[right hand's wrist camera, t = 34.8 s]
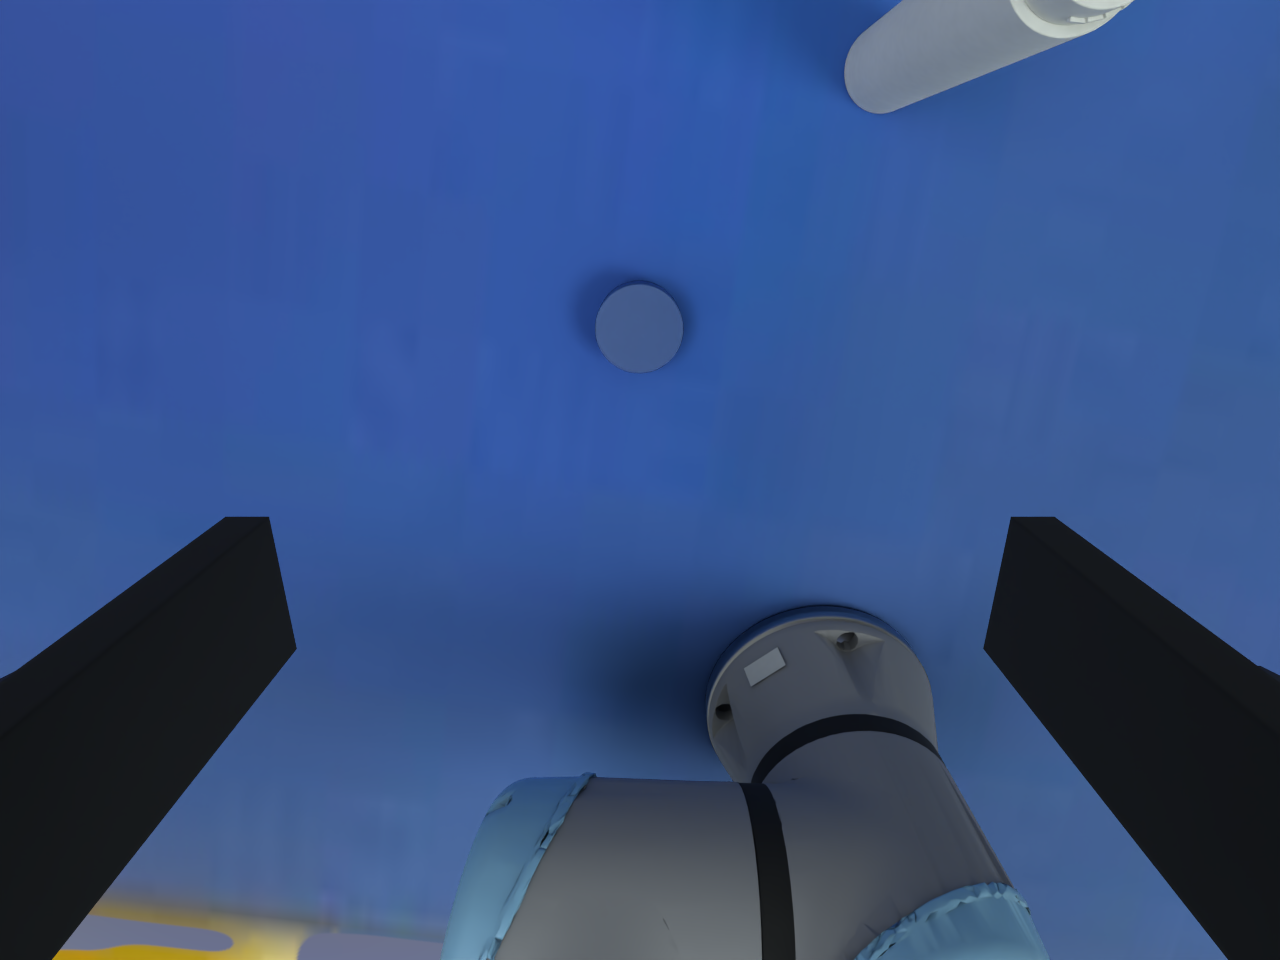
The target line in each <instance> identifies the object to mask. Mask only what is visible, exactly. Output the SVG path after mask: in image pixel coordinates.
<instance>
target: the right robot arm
mask: <svg viewBox="0 0 1280 960" xmlns="http://www.w3.org/2000/svg"><path fill="white" fill-rule="evenodd" d="M296 649H297V648H296V644H295V639H294V634H293V629H292V625H291V620H290V615H289V610H288V605H287V601H286V596H285V591H284V586H283V582H282V577H281V572H280V567H279V563H278V558H277V553H276V548H275V543H274V539H273V534H272V529H271V524H270V520H269V517H225V518H223V519H222V520H221V521H219V522H218V523H217V524H215V525H214V526H212V527H211V528H210V529H208V530H207V531H206V532H204V533H203V534H202V535H200V536H199V537H197V538H196V539H195V540H193V541H192V542H191V543H189V544H188V545H187V546H185V547H184V548H183V549H181V550H180V551H178V552H177V553H176V554H174V555H173V556H172V557H170V558H169V559H168V560H166V561H165V562H163V563H162V564H161V565H159V566H158V567H157V568H155V569H154V570H153V571H151V572H150V573H148V574H147V575H146V576H144V577H143V578H142V579H140V580H139V581H138V582H136V583H135V584H134V585H132V586H131V587H129V588H128V589H127V590H125V591H124V592H123V593H121V594H120V595H119V596H117V597H116V598H114V599H113V600H112V601H110V602H109V603H108V604H106V605H105V606H104V607H102V608H101V609H99V610H98V611H97V612H95V613H94V614H93V615H91V616H90V617H89V618H87V619H86V620H84V621H83V622H82V623H80V624H79V625H78V626H76V627H75V628H74V629H72V630H71V631H70V632H68V633H67V634H65V635H64V636H63V637H61V638H60V639H59V640H57V641H56V642H55V643H53V644H52V645H50V646H49V647H48V648H46V649H45V650H44V651H42V652H41V653H40V654H38V655H37V656H35V657H34V658H33V659H31V660H30V661H29V662H27V663H26V664H25V665H23V666H22V667H21V668H19V669H18V670H16V671H15V672H13V673H11V674H9V675H7V676H5V677H3V678H1V679H0V960H52V959H53V958H54V956H55V955H56V954H57V952H58V951H59V950H60V949H61V947H62V946H63V945H64V944H65V942H66V941H67V940H68V939H69V937H70V936H71V935H72V933H73V932H74V931H75V930H76V928H77V927H78V926H79V925H80V923H81V922H82V921H83V919H84V918H85V917H86V916H87V914H88V913H89V912H90V911H91V909H92V908H93V907H94V905H95V904H96V903H97V902H98V900H99V899H100V898H101V897H102V895H103V894H104V893H105V892H106V890H107V889H108V888H109V886H110V885H111V884H112V883H113V881H114V880H115V879H116V878H117V876H118V875H119V874H120V872H121V871H122V870H123V869H124V867H125V866H126V865H127V864H128V862H129V861H130V860H131V858H132V857H133V856H134V855H135V853H136V852H137V851H138V850H139V848H140V847H141V846H142V844H143V843H144V842H145V841H146V839H147V838H148V837H149V836H150V834H151V833H152V832H153V831H154V829H155V828H156V827H157V825H158V824H159V823H160V822H161V820H162V819H163V818H164V817H165V815H166V814H167V813H168V811H169V810H170V809H171V808H172V806H173V805H174V804H175V803H176V801H177V800H178V799H179V797H180V796H181V795H182V794H183V792H184V791H185V790H186V789H187V787H188V786H189V785H190V784H191V782H192V781H193V780H194V778H195V777H196V776H197V775H198V773H199V772H200V771H201V770H202V768H203V767H204V766H205V764H206V763H207V762H208V761H209V759H210V758H211V757H212V756H213V754H214V753H215V752H216V750H217V749H218V748H219V747H220V745H221V744H222V743H223V742H224V740H225V739H226V738H227V737H228V735H229V734H230V733H231V731H232V730H233V729H234V728H235V726H236V725H237V724H238V723H239V721H240V720H241V719H242V717H243V716H244V715H245V714H246V712H247V711H248V710H249V709H250V707H251V706H252V705H253V703H254V702H255V701H256V700H257V698H258V697H259V696H260V695H261V693H262V692H263V691H264V690H265V688H266V687H267V686H268V684H269V683H270V682H271V681H272V679H273V678H274V677H275V676H276V674H277V673H278V672H279V670H280V669H281V668H282V667H283V665H284V664H285V663H286V662H287V660H288V659H289V658H290V656H291V655H292V654H293V653H294V651H295V650H296ZM983 649H984V650H985V651H986V653H987V654H988V655H989V656H990V658H991V659H992V660H993V662H994V663H995V664H996V665H997V667H998V668H999V669H1000V670H1001V672H1002V673H1003V674H1004V676H1005V677H1006V678H1007V679H1008V681H1009V682H1010V683H1011V684H1012V686H1013V687H1014V688H1015V690H1016V691H1017V692H1018V693H1019V695H1020V696H1021V697H1022V698H1023V700H1024V701H1025V702H1026V703H1027V705H1028V706H1029V707H1030V709H1031V710H1032V711H1033V712H1034V714H1035V715H1036V716H1037V717H1038V719H1039V720H1040V721H1041V723H1042V724H1043V725H1044V726H1045V728H1046V729H1047V730H1048V731H1049V733H1050V734H1051V735H1052V737H1053V738H1054V739H1055V740H1056V742H1057V743H1058V744H1059V745H1060V747H1061V748H1062V749H1063V750H1064V752H1065V753H1066V754H1067V756H1068V757H1069V758H1070V759H1071V761H1072V762H1073V763H1074V764H1075V766H1076V767H1077V768H1078V770H1079V771H1080V772H1081V773H1082V775H1083V776H1084V777H1085V778H1086V780H1087V781H1088V782H1089V784H1090V785H1091V786H1092V787H1093V789H1094V790H1095V791H1096V792H1097V794H1098V795H1099V796H1100V797H1101V799H1102V800H1103V801H1104V803H1105V804H1106V805H1107V806H1108V808H1109V809H1110V810H1111V811H1112V813H1113V814H1114V815H1115V817H1116V818H1117V819H1118V820H1119V822H1120V823H1121V824H1122V825H1123V827H1124V828H1125V829H1126V831H1127V832H1128V833H1129V834H1130V836H1131V837H1132V838H1133V839H1134V841H1135V842H1136V843H1137V844H1138V846H1139V847H1140V848H1141V850H1142V851H1143V852H1144V853H1145V855H1146V856H1147V857H1148V858H1149V860H1150V861H1151V862H1152V864H1153V865H1154V866H1155V867H1156V869H1157V870H1158V871H1159V872H1160V874H1161V875H1162V876H1163V878H1164V879H1165V880H1166V881H1167V883H1168V884H1169V885H1170V886H1171V888H1172V889H1173V890H1174V892H1175V893H1176V894H1177V895H1178V897H1179V898H1180V899H1181V900H1182V902H1183V903H1184V904H1185V905H1186V907H1187V908H1188V909H1189V911H1190V912H1191V913H1192V914H1193V916H1194V917H1195V918H1196V919H1197V921H1198V922H1199V923H1200V925H1201V926H1202V927H1203V928H1204V930H1205V931H1206V932H1207V933H1208V935H1209V936H1210V937H1211V939H1212V940H1213V941H1214V942H1215V944H1216V945H1217V946H1218V947H1219V949H1220V950H1221V951H1222V952H1223V954H1224V955H1225V956H1226V958H1227V959H1228V960H1280V675H1278V674H1276V673H1274V672H1272V671H1270V670H1267V669H1265V668H1263V667H1261V666H1257V665H1255V664H1254V663H1253V662H1251V661H1250V660H1249V659H1247V658H1246V657H1245V656H1243V655H1242V654H1240V653H1239V652H1238V651H1236V650H1235V649H1234V648H1232V647H1231V646H1230V645H1228V644H1227V643H1225V642H1224V641H1223V640H1221V639H1220V638H1219V637H1217V636H1216V635H1215V634H1213V633H1212V632H1210V631H1209V630H1208V629H1206V628H1205V627H1204V626H1202V625H1201V624H1200V623H1198V622H1197V621H1196V620H1194V619H1193V618H1191V617H1190V616H1189V615H1187V614H1186V613H1185V612H1183V611H1182V610H1181V609H1179V608H1178V607H1176V606H1175V605H1174V604H1172V603H1171V602H1170V601H1168V600H1167V599H1166V598H1164V597H1163V596H1161V595H1160V594H1159V593H1157V592H1156V591H1155V590H1153V589H1152V588H1151V587H1149V586H1148V585H1146V584H1145V583H1144V582H1142V581H1141V580H1140V579H1138V578H1137V577H1136V576H1134V575H1133V574H1132V573H1130V572H1129V571H1127V570H1126V569H1125V568H1123V567H1122V566H1121V565H1119V564H1118V563H1117V562H1115V561H1114V560H1112V559H1111V558H1110V557H1108V556H1107V555H1106V554H1104V553H1103V552H1102V551H1100V550H1099V549H1097V548H1096V547H1095V546H1093V545H1092V544H1091V543H1089V542H1088V541H1087V540H1085V539H1084V538H1083V537H1081V536H1080V535H1078V534H1077V533H1076V532H1074V531H1073V530H1072V529H1070V528H1069V527H1068V526H1066V525H1065V524H1063V523H1062V522H1061V521H1059V520H1058V519H1057V518H1055V517H1011V520H1010V524H1009V529H1008V534H1007V539H1006V543H1005V548H1004V553H1003V558H1002V563H1001V567H1000V572H999V577H998V582H997V586H996V591H995V596H994V601H993V605H992V610H991V615H990V620H989V625H988V629H987V634H986V639H985V644H984V648H983ZM705 707H706V717H707V725H708V731H709V736H710V739H711V743H712V745H713V748H714V750H715V752H716V754H717V756H718V757H719V759H720V761H721V763H722V764H723V766H724V767H725V769H726V771H727V772H728V774H729V775H730V777H731V778H732V780H733V782H712V781H679V780H654V779H629V778H604V777H596V774H595V773H590V772H588V773H584V774H582V775H581V776H580V777H544V778H526V779H522V780H519V781H517V782H514V783H513V784H511V785H510V786H508V787H507V788H506V789H505V790H503V791H502V792H501V793H500V794H499V795H498V797H497V798H496V799H495V801H494V802H493V803H492V805H491V807H490V808H489V810H488V812H487V814H486V816H485V818H484V820H483V821H482V823H481V826H480V828H479V830H478V832H477V835H476V837H475V840H474V842H473V845H472V847H471V850H470V853H469V855H468V858H467V861H466V864H465V867H464V870H463V873H462V876H461V879H460V883H459V886H458V889H457V893H456V896H455V900H454V903H453V907H452V911H451V914H450V918H449V922H448V926H447V931H446V935H445V939H444V943H443V948H442V952H441V957H440V960H1050V958H1049V956H1048V954H1047V952H1046V949H1045V947H1044V945H1043V943H1042V941H1041V939H1040V936H1039V934H1038V932H1037V930H1036V928H1035V925H1034V923H1033V921H1032V919H1031V916H1030V915H1031V914H1030V910H1029V908H1028V905H1027V902H1026V901H1025V900H1024V898H1023V897H1022V896H1021V895H1020V894H1019V893H1018V891H1017V889H1015V888H1014V887H1013V885H1012V883H1011V881H1010V879H1009V878H1008V876H1007V874H1006V872H1005V871H1004V869H1003V867H1002V865H1001V863H1000V862H999V860H998V858H997V856H996V855H995V853H994V851H993V849H992V847H991V846H990V844H989V842H988V840H987V839H986V837H985V835H984V833H983V831H982V830H981V828H980V826H979V824H978V823H977V821H976V819H975V817H974V815H973V814H972V812H971V810H970V808H969V807H968V805H967V803H966V801H965V799H964V798H963V796H962V794H961V792H960V791H959V789H958V787H957V785H956V783H955V782H954V780H953V778H952V776H951V775H950V773H949V771H948V769H947V768H946V766H945V764H944V762H943V761H942V759H941V757H940V755H939V753H938V746H937V736H936V727H935V717H934V708H933V698H932V693H931V687H930V683H929V680H928V677H927V674H926V672H925V670H924V668H923V666H922V665H921V663H920V661H919V660H918V658H917V657H916V655H915V653H914V652H913V650H912V648H911V647H910V645H909V644H908V643H907V642H906V640H905V639H904V638H903V637H902V636H901V635H900V634H899V633H898V632H897V631H896V630H894V629H893V628H892V627H891V626H889V625H888V624H886V623H885V622H883V621H881V620H880V619H878V618H876V617H874V616H871V615H869V614H866V613H864V612H860V611H857V610H853V609H848V608H843V607H834V606H814V607H805V608H799V609H794V610H790V611H786V612H783V613H780V614H777V615H774V616H772V617H770V618H767V619H765V620H763V621H761V622H759V623H758V624H756V625H754V626H753V627H751V628H750V629H748V630H747V631H745V632H744V633H743V634H741V635H740V636H739V637H738V638H737V639H736V640H735V641H734V642H733V643H731V644H730V646H729V647H728V648H727V649H726V650H725V651H724V653H723V654H722V655H721V657H720V658H719V660H718V661H717V663H716V665H715V667H714V669H713V671H712V673H711V676H710V678H709V682H708V685H707V690H706V699H705Z"/></svg>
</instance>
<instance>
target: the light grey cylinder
mask: <svg viewBox="0 0 1280 960" xmlns="http://www.w3.org/2000/svg"><path fill="white" fill-rule="evenodd" d="M1132 1H1134V0H903V1H901V2H900V3H899V4H898V5H896V6H895V7H894V8H893V9H891V10H890V11H889V12H888V13H886V14H885V15H884V16H883V17H881V18H880V19H879V20H878V21H877V22H875V23H874V24H873V25H872V26H870V27H869V28H868V29H867V30H865V31H864V32H863V33H862V34H861V35H860V36H859V37H858V38H857V39H856V41H855V42H854V43H853V45H852V47H851V48H850V51H849V53H848V55H847V59H846V63H845V70H844V78H845V84H846V88H847V91H848V93H849V95H850V97H851V98H852V100H853V101H854V102H855V103H856V104H857V105H858V106H859V107H860V108H862V109H863V110H866V111H868V112H871V113H876V114H883V113H889V112H892V111H895V110H897V109H900V108H902V107H905V106H907V105H910V104H912V103H915V102H917V101H920V100H922V99H925V98H927V97H930V96H932V95H935V94H937V93H940V92H942V91H945V90H947V89H950V88H952V87H955V86H957V85H960V84H962V83H965V82H967V81H970V80H972V79H975V78H977V77H980V76H982V75H985V74H987V73H990V72H992V71H995V70H997V69H1000V68H1002V67H1005V66H1007V65H1010V64H1012V63H1015V62H1017V61H1020V60H1022V59H1025V58H1027V57H1030V56H1032V55H1035V54H1037V53H1040V52H1042V51H1045V50H1047V49H1050V48H1052V47H1055V46H1057V45H1060V44H1062V43H1065V42H1067V41H1070V40H1072V39H1075V38H1077V37H1080V36H1082V35H1085V34H1087V33H1089V32H1091V31H1094V30H1095V29H1097V28H1099V27H1100V26H1102V25H1104V24H1105V23H1106V22H1108V21H1109V20H1110V19H1111V18H1113V17H1114V16H1115V15H1116V14H1117V13H1118V12H1119V11H1120V10H1122V9H1124V8H1126V7H1127V6H1128V5H1129V4H1130V3H1131V2H1132Z"/></svg>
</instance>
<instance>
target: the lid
mask: <svg viewBox="0 0 1280 960" xmlns="http://www.w3.org/2000/svg"><path fill="white" fill-rule="evenodd" d="M595 334H596V340H597V343H598V346H599V348H600V350H601V352H602V353H603V355H604V356H605V357H606V359H607V360H608V361H609V362H611V363H612V364H613V365H614V366H616V367H618V368H619V369H622V370H624V371H627V372H631V373H647V372H652V371H654V370H657V369H659V368H661V367H663V366H664V365H665V364H667V363H668V362H669V361H670V360H671V359H672V358H673V357H674V355H675V354H676V352H677V351H678V349H679V347H680V344H681V341H682V337H683V320H682V316H681V313H680V310H679V308H678V306H677V304H676V302H675V300H674V299H673V297H672V296H671V295H670V294H669V293H668V292H667V291H666V290H665V289H663V288H662V287H660V286H658V285H656V284H654V283H651V282H647V281H632V282H627V283H625V284H622V285H620V286H618V287H617V288H615V289H614V290H612V291H611V292H610V293H609V294H608V295H607V297H606V298H605V299H604V301H603V303H602V304H601V307H600V309H599V311H598V314H597V318H596V323H595Z"/></svg>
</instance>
